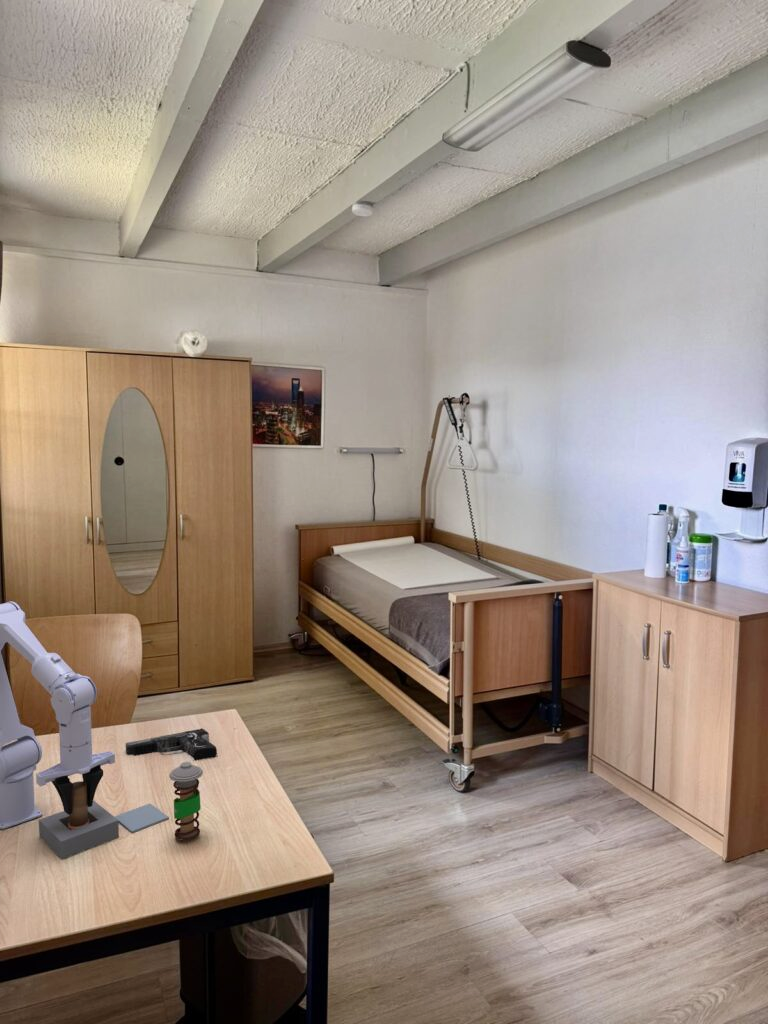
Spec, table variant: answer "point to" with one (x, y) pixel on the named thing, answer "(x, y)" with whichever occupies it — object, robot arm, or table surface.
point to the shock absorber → (186, 800)
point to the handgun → (176, 744)
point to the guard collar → (78, 831)
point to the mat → (141, 818)
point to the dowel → (79, 805)
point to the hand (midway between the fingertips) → (78, 808)
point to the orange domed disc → (75, 827)
